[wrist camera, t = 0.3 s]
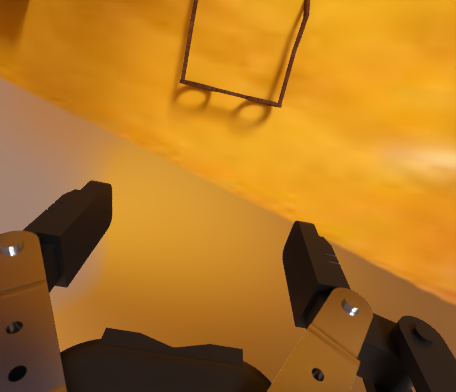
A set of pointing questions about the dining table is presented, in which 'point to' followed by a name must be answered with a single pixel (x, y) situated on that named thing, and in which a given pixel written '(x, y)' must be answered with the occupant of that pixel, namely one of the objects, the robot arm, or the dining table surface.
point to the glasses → (258, 100)
